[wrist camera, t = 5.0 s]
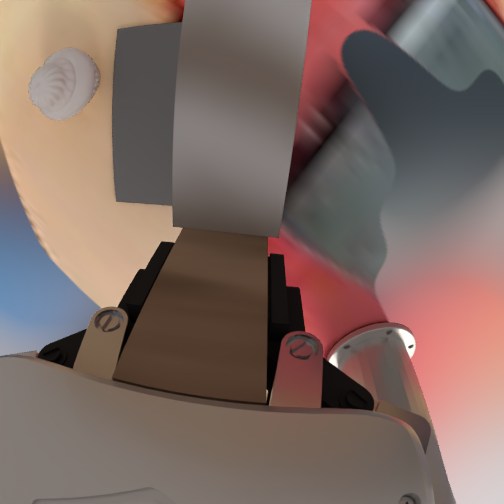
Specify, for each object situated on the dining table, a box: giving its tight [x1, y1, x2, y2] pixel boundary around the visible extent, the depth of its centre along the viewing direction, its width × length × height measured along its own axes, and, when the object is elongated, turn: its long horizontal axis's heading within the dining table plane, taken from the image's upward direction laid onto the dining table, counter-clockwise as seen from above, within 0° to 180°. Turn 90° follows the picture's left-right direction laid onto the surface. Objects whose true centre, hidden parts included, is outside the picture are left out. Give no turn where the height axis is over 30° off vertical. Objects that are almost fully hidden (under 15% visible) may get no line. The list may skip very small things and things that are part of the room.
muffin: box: [28, 48, 100, 121], centre depth 16 cm, size 6×6×7 cm
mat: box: [112, 22, 182, 206], centre depth 21 cm, size 16×7×1 cm, turn 174°
